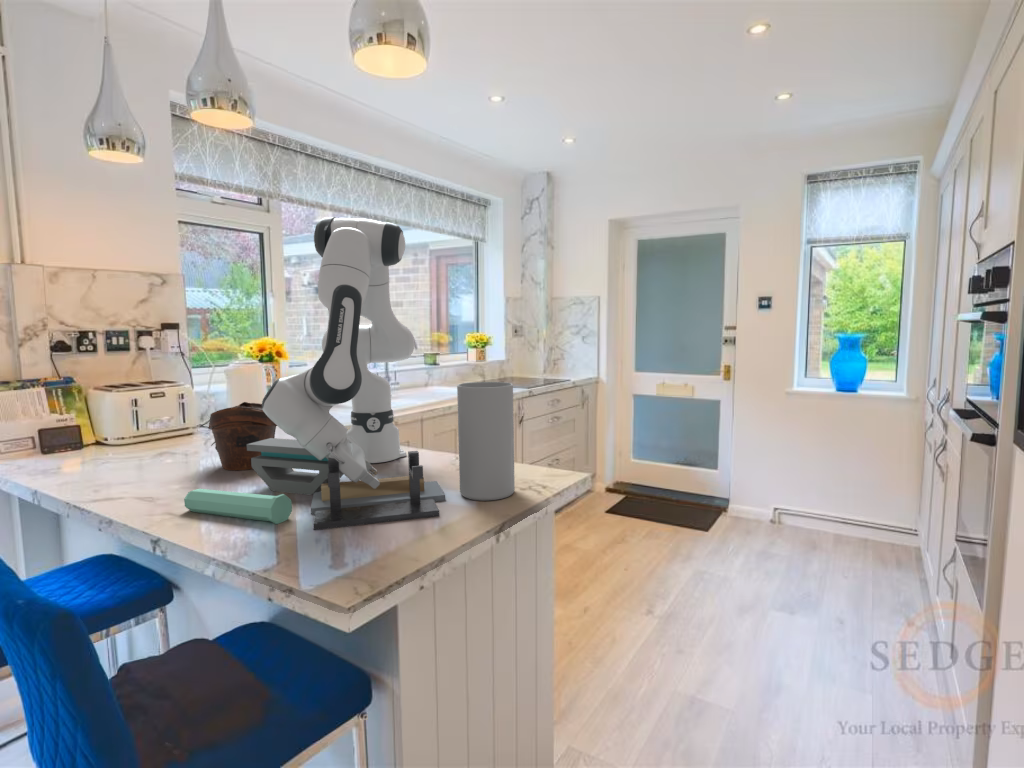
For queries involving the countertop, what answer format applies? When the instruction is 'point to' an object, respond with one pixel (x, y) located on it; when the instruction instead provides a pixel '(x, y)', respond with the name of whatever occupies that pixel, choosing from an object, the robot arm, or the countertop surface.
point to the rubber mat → (380, 498)
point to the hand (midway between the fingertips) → (376, 479)
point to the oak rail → (365, 490)
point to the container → (240, 505)
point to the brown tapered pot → (240, 433)
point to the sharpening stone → (288, 466)
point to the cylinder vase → (486, 440)
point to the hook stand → (375, 512)
